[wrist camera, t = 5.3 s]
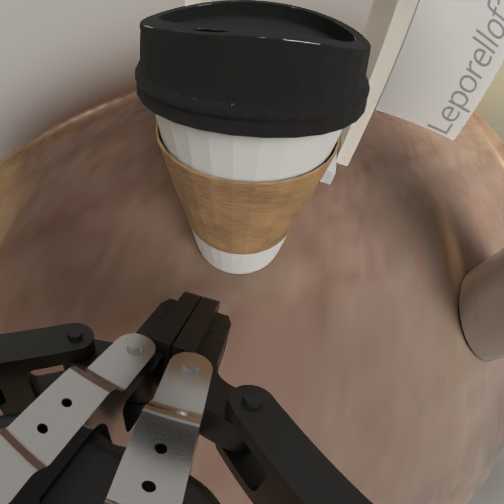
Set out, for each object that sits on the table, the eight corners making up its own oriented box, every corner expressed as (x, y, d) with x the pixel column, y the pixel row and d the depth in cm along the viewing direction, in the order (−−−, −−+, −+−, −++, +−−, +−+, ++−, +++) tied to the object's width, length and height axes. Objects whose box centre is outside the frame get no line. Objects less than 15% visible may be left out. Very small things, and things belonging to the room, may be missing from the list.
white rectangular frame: (348, 112, 28) (398, -34, 10) (347, 190, 22) (446, -29, 4) (224, 83, 29) (232, -66, 11) (178, 149, 23) (161, -76, 5)
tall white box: (374, 109, 29) (441, -77, 2) (366, 89, 32) (421, -76, 5) (453, 140, 30) (531, -6, 3) (441, 118, 32) (507, -17, 5)
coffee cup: (158, 266, 18) (66, 46, 4) (208, 176, 22) (204, -13, 8) (278, 311, 17) (408, 95, 4) (309, 208, 21) (382, 22, 7)
